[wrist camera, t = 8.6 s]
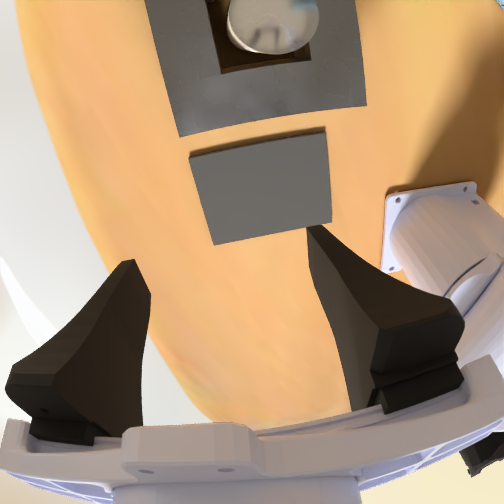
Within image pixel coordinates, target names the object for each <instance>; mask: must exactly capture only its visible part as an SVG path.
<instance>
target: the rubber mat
mask: <svg viewBox="0 0 504 504" xmlns="http://www.w3.org/2000/svg"><path fill="white" fill-rule="evenodd" d="M189 163H190V166H191V170H192V173H193V177H194V180H195V184H196V187H197V191H198V194H199V197H200V201H201V204H202V208H203V211H204V214H205V218H206V221H207V224H208V228H209V231H210V234H211V238H212V241H213V244H214V245H219V244H224V243H229V242H234V241H239V240H244V239H249V238H254V237H259V236H264V235H269V234H274V233H279V232H284V231H289V230H295V229H300V228H305V227H309V226H315V225H320V224H326V223H331V222H332V212H331V194H330V179H329V165H328V153H327V142H326V133H325V132H317V133H310V134H303V135H297V136H291V137H285V138H279V139H273V140H267V141H262V142H257V143H251V144H246V145H241V146H236V147H232V148H227V149H222V150H218V151H213V152H209V153H204V154H200V155H196V156H192V157H189Z"/></svg>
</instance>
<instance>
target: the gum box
mask: <svg viewBox="0 0 504 504" xmlns="http://www.w3.org/2000/svg"><path fill="white" fill-rule="evenodd" d="M496 1H497V2H498V4H499V5H500V6H501V8H502V9H503V10H504V0H496Z"/></svg>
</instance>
